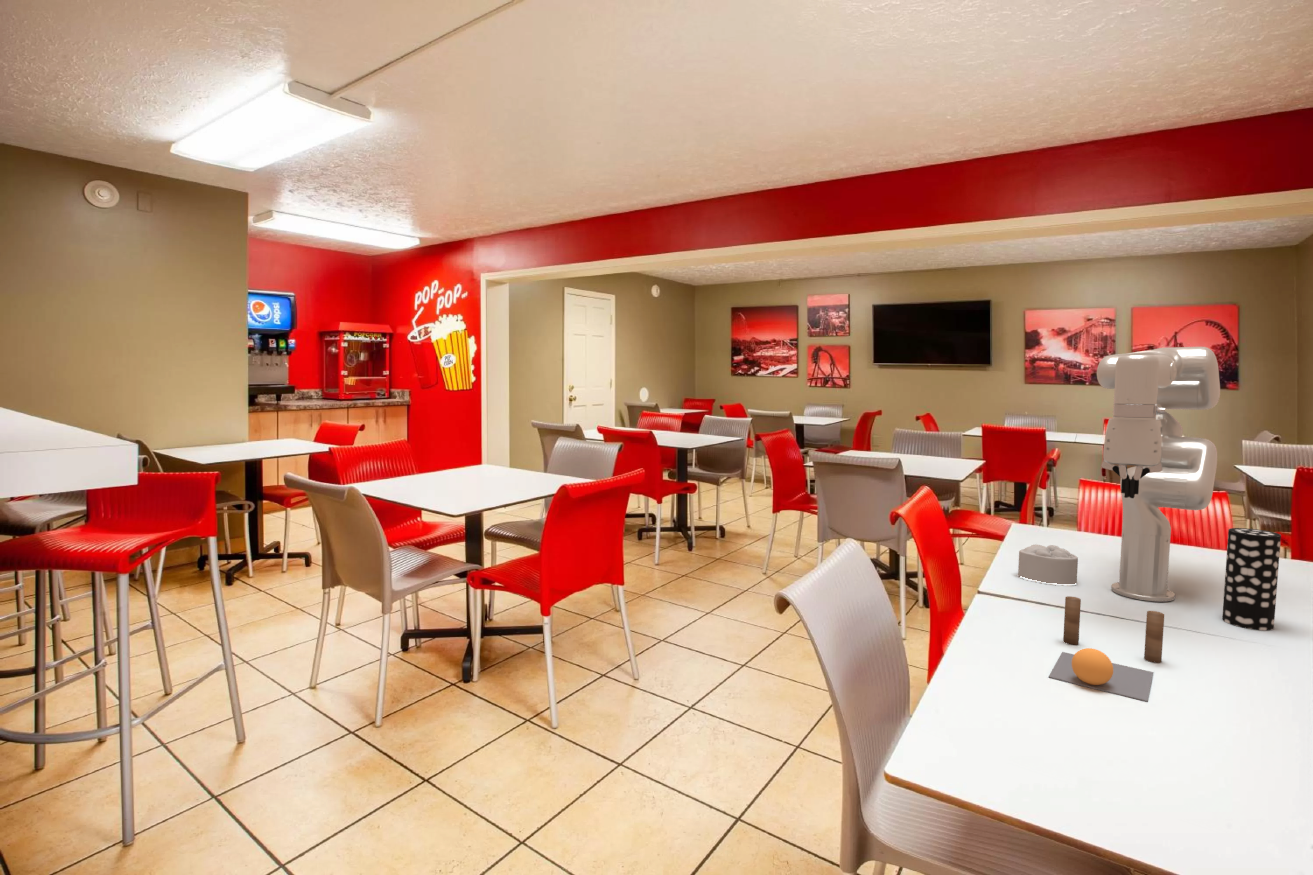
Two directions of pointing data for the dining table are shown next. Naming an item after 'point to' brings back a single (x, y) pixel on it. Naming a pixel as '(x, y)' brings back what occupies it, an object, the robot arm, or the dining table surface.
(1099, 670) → the ball
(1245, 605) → the white-spotted black cylinder
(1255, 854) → the dining table surface
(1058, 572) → the lumpy-topped squat cylinder
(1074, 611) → the post
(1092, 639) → the dining table surface
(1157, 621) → the post
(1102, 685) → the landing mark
